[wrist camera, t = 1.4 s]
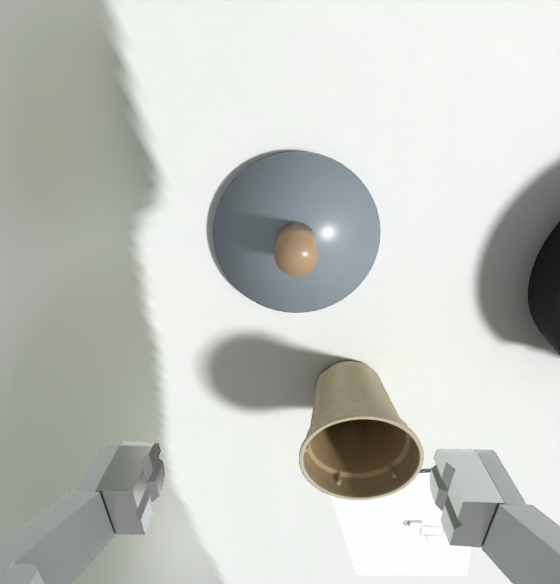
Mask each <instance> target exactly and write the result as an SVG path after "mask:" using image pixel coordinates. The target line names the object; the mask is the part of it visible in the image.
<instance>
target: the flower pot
mask: <svg viewBox="0 0 560 584" xmlns="http://www.w3.org/2000/svg"><path fill="white" fill-rule="evenodd" d="M423 460H424V452H423V447H422V445H421V443H420V441H419V439H418V437H417V436H416V434H415V433H414V432H413V431H412V430H411V429H410V428H409V427H408V426H407V425H406V424H405V422H404V421H403V420H402V419H400V417H399V416H398V414H397V412H396V410H395V408H394V406H393V404H392V402H391V400H390V398H389V396H388V394H387V392H386V390H385V388H384V386H383V384H382V382H381V380H380V378H379V376H378V374H377V373H376V372H375V371H374V370H372V369H371V368H370V367H369V366H368V365H366V364H363V363H360V362H355V361H345V362H339V363H336V364H334V365H332V366H331V367H330V368H329V369H327V370H326V371H324V372H323V373H321V374H320V376H319V378H318V380H317V383H316V391H315V398H314V406H313V412H312V419H311V425H310V429H309V431H308V433H307V435H306V438H305V440H304V441H303V443H302V446H301V449H300V453H299V464H300V468H301V471H302V473H303V475H304V477H305V478H306V479H307V480H308V481H309V482H310V483H311V484H312V485H313V486H314V487H315V488H317V489H318V490H320V491H322V492H324V493H326V494H328V495H331V496H334V497H337V498H342V499H347V500H370V499H377V498H380V497H386V496H388V495H391V494H394V493H396V492H398V491H400V490H402V489H404V488H405V487H406V486H408V485H409V484H410V483H411V482H412V481H413V480H414V479H415V478H416V477H417V475H418V473H419V472H420V470H421V468H422V465H423Z"/></svg>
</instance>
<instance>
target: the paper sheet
mask: <svg viewBox="0 0 560 584" xmlns="http://www.w3.org/2000/svg"><path fill="white" fill-rule="evenodd" d="M330 496H331V495H330ZM331 499H332V502H333V505H334V508H335V511H336V514H337V517H338V521H339V524H340V527H341V530H342V533H343V536H344V539H345V542H346V545H347V548H348V551H349V554H350V557H351V560H352V564H353V567H354V570H355V573H356V575H422V576H467V572H468V566H469V560H470V554H471V548H472V547H469V546H453V545H449V543H448V540H447V537H446V534H445V531H444V529H443V526H442V523H441V516H442V513H443V511H441V510H440V509H439V508H438V507H437V506H436V505H435V503H434V500H433V497H432V494H431V489H430V472H429V473H418V475H417V477H416V478H415V479H414V480H413V481H412V482H411V483H410V484H409V485H408V486H406V487H405V488H404V489H402V490H400V491H398V492H396V493H394V494H391V495H388V496H386V497H380V498H377V499H370V500H347V499H342V498H337V497H334V496H331Z"/></svg>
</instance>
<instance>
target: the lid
mask: <svg viewBox="0 0 560 584" xmlns="http://www.w3.org/2000/svg"><path fill="white" fill-rule="evenodd" d="M213 232H214V245H215V251H216V254H217V257H218V261H219V263H220V265H221V267H222V269H223V271H224V273H225V274H226V276H227V277H228V279H229V280H230V281H231V283H232V284H233V285H234V286H235V287H236V288H237V289H238V290H239V291H240V292H241V293H242V294H244V295H245V296H246V297H248V298H249V299H251V300H252V301H254V302H256V303H258V304H260V305H262V306H265V307H267V308H270V309H273V310H277V311H283V312H293V313H299V312H310V311H316V310H319V309H323V308H326V307H328V306H331V305H333V304H335V303H337V302H339V301H340V300H342V299H344V298H345V297H346V296H348V295H349V294H351V293H352V292H353V291H354V290H355V289H356V288H357V287H358V286H359V285H360V284H361V283H362V281H363V280H364V279H365V278H366V276H367V274H368V273H369V271H370V270H371V268H372V266H373V263H374V261H375V259H376V255H377V252H378V248H379V243H380V221H379V216H378V212H377V208H376V205H375V203H374V200H373V198H372V196H371V194H370V193H369V191H368V189H367V188H366V186H365V185H364V184H363V183H362V181H361V180H360V179H359V178H358V177H357V176H356V175H355V174H354V173H353V172H352V171H351V170H350V169H348V168H347V167H345V166H344V165H343V164H341V163H339V162H337V161H335V160H333V159H332V158H329V157H326V156H323V155H320V154H316V153H311V152H301V151H293V152H283V153H279V154H274V155H271V156H269V157H266V158H263V159H261V160H259V161H257V162H256V163H254V164H252V165H251V166H249V167H248V168H247V169H245V170H244V171H243V172H242V173H241V174H240V175H239V176H237V177H236V178H235V179H234V181H233V182H232V183H231V184H230V186H229V187H228V188H227V190H226V191H225V193H224V195H223V197H222V199H221V201H220V203H219V206H218V208H217V212H216V216H215V220H214V230H213Z"/></svg>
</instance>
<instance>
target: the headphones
mask: <svg viewBox="0 0 560 584" xmlns="http://www.w3.org/2000/svg"><path fill="white" fill-rule="evenodd" d="M528 303H529V309H530V312H531V315H532V318H533V320H534V322H535V324H536V325H537V327H538V329H539V330H540V332H541V333H542V334H543V335H544V336H545V338H546V339H547V340H548V341H549V342H550V344H551V345H552V346H553V347H554V348H555V350H556V351H557V352H558V353H559V354H560V222H559V223H558V224H557V225H556V227H555V228H554V229H553V231H552V232H551V233H550V235H549V236H548V238H547V239H546V241H545V242H544V244H543V246H542V248H541V250H540V252H539V254H538V256H537V258H536V261H535V263H534V266H533V269H532V273H531V276H530V280H529V287H528Z"/></svg>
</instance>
